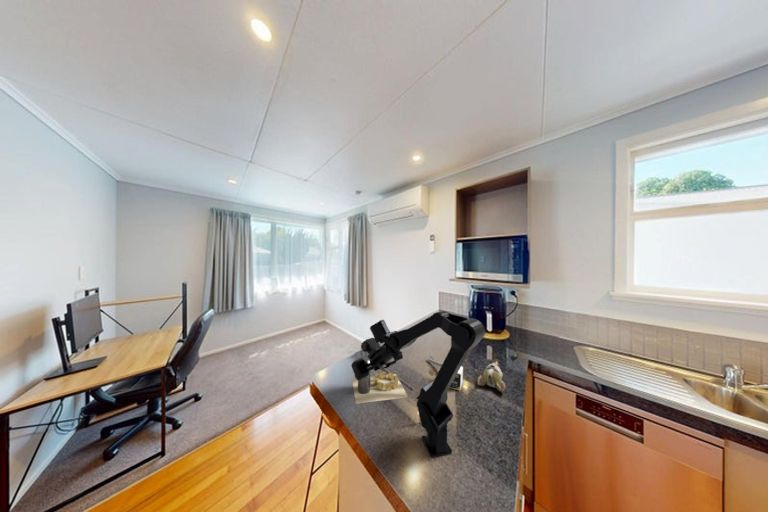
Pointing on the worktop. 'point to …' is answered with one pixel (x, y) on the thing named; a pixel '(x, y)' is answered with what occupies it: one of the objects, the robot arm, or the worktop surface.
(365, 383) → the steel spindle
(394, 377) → the ring nut
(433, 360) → the caliper
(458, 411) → the worktop surface
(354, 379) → the birch plate
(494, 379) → the ceramic sculpture
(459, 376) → the medicine bottle
